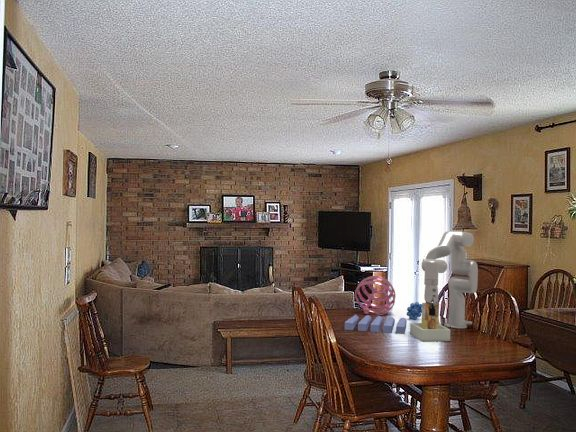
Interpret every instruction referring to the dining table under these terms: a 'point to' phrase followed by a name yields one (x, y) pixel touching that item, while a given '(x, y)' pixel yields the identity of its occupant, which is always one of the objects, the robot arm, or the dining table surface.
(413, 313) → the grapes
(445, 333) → the crate
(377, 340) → the dining table surface
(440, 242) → the robot arm
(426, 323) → the candy box
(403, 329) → the blocks
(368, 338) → the dining table surface
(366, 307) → the pink lattice ball
